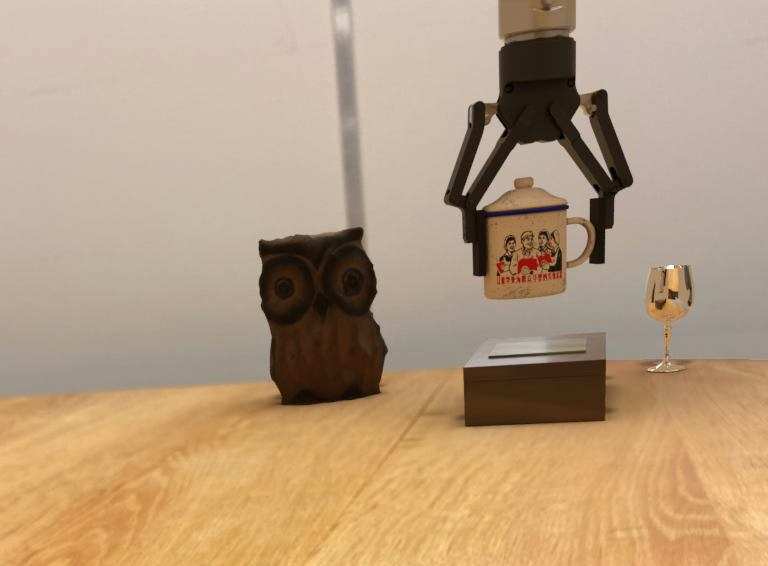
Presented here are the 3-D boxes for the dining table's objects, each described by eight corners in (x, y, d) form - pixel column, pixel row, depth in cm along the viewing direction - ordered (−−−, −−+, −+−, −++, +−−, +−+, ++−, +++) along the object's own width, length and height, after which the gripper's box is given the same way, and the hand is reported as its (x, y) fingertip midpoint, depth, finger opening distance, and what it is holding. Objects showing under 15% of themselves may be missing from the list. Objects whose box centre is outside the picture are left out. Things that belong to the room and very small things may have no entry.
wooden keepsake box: (485, 390, 130) (484, 338, 128) (604, 383, 126) (605, 330, 124) (464, 426, 110) (462, 365, 108) (605, 420, 107) (606, 357, 104)
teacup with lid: (490, 302, 110) (488, 180, 106) (475, 296, 118) (471, 183, 114) (606, 291, 110) (608, 168, 105) (582, 286, 118) (583, 172, 114)
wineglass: (688, 364, 133) (692, 263, 129) (693, 371, 128) (698, 266, 124) (640, 367, 135) (643, 267, 130) (643, 374, 130) (646, 271, 125)
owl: (394, 391, 136) (384, 224, 129) (327, 409, 128) (313, 232, 120) (321, 387, 144) (309, 230, 137) (255, 404, 136) (237, 239, 129)
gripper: (423, 45, 101) (433, 283, 109) (672, 22, 102) (664, 259, 110) (408, 57, 108) (419, 279, 116) (641, 35, 109) (636, 257, 117)
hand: (538, 270), depth 113 cm, fingers closed on teacup with lid, 12 cm apart
